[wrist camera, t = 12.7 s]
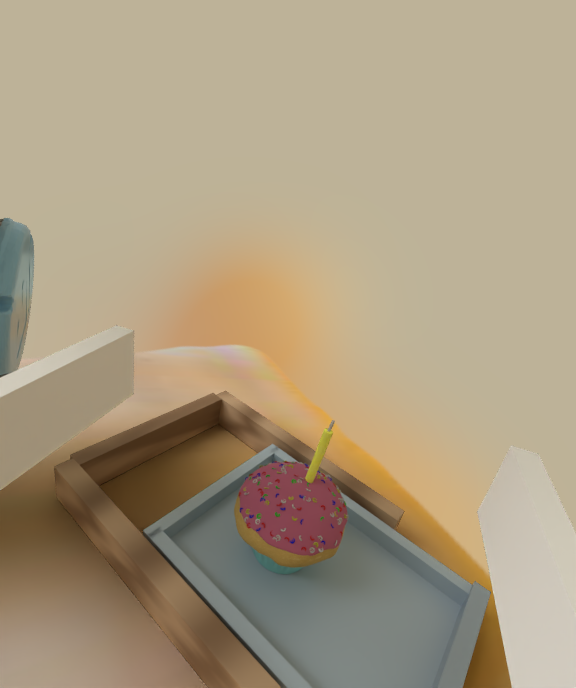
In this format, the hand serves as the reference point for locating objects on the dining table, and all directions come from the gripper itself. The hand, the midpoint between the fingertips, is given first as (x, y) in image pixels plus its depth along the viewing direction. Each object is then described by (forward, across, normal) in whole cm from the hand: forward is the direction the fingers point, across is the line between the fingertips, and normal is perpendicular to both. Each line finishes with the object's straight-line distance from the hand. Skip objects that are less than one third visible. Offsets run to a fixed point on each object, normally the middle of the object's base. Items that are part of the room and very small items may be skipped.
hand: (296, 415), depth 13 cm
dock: (+13, -6, -21) cm, 26 cm away
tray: (+10, +2, -21) cm, 23 cm away
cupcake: (+11, -1, -20) cm, 23 cm away
